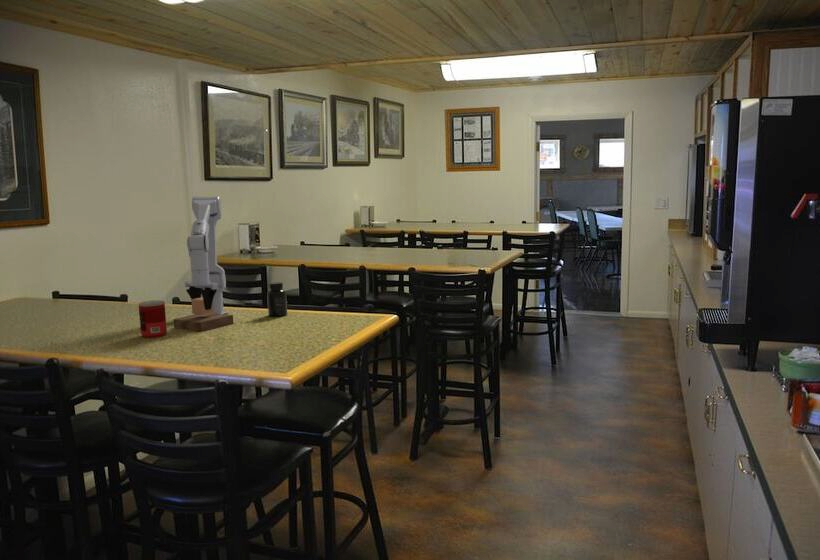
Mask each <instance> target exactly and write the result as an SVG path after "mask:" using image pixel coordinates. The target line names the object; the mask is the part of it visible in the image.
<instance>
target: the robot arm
mask: <svg viewBox="0 0 820 560" xmlns="http://www.w3.org/2000/svg"><path fill="white" fill-rule="evenodd" d="M191 210H192V212H193V216H194V217H195V219H196V220H195V221H194V222H193V223H192V226H191V231H190V235H189V236H187V238H186V245H187V246H186V247H187V251H188V257H189V258H190V259H189V260H190V272H191V273H190V274H191V280H187V281H184V288H187V289H186V290H185V292H186V293H187V294H188V296H189V297H190V300H191V299H196V298H201V297H203V300H204V306H205V310H209V309H211V307H212V302H213V309H214V312H213V313H218V314H227V315H228V314H229V311H224V301H223V300H224V299H223V290H225V289H226V288H227V287H226V286H227V279H226V274H225V273H226V271H225V270H224V268H223V267H222V266H220V265H219V264H218V257H217V256H218V255H217V254H218V253H217V222H218V221H219V220H221V219H222V200H221V197H220V196H219V195H215V196H210V195H209V196H193V197H192V198H191Z"/></svg>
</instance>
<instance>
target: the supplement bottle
mask: <svg viewBox="0 0 820 560" xmlns="http://www.w3.org/2000/svg"><path fill="white" fill-rule="evenodd" d="M268 284H269V287H268V288H269V290H268V291H267V292H266V293H267V296H266V297H267V308H268V309H267V310H268V312H267V313H268V316H269V317H273V318H279V317H285V316H287V315H288V304H287V292H286V290H285V289H284V285H283V282H281V281H279V282H270V283H268Z"/></svg>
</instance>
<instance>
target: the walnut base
mask: <svg viewBox="0 0 820 560" xmlns="http://www.w3.org/2000/svg"><path fill="white" fill-rule="evenodd" d="M172 321H173V322H172V323H173V328H174V329H180V330H186V331H187V330H189V331H194V332H205V331H209V330H214V329H217V328H222V327H225V326H230V325H233V324H234V315H233V314H228V313H227V314H218V313H209V314H204V315H199V314H190V315H187V316H186V315H185V316H180V317H178V318H172Z"/></svg>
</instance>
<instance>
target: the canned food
mask: <svg viewBox="0 0 820 560" xmlns="http://www.w3.org/2000/svg"><path fill="white" fill-rule="evenodd" d="M138 314H139V325H140V335H141V337H142V338H143V337H144V339H155V338H156V339H157V338H160V337H164V336H166V335H167V333H168V330H167V317H166V303H165V301H164V300H161V299H160V300H159V299H157V300H155V299H154V300H146V301H141V302H138Z"/></svg>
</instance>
